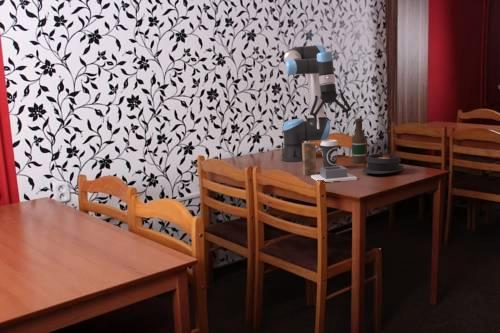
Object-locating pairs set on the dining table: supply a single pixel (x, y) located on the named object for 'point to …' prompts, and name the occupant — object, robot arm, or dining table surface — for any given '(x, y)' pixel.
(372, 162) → the casserole
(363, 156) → the beer bottle
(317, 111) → the robot arm
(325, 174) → the end cap plate
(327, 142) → the coffee cup
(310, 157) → the walnut slat
